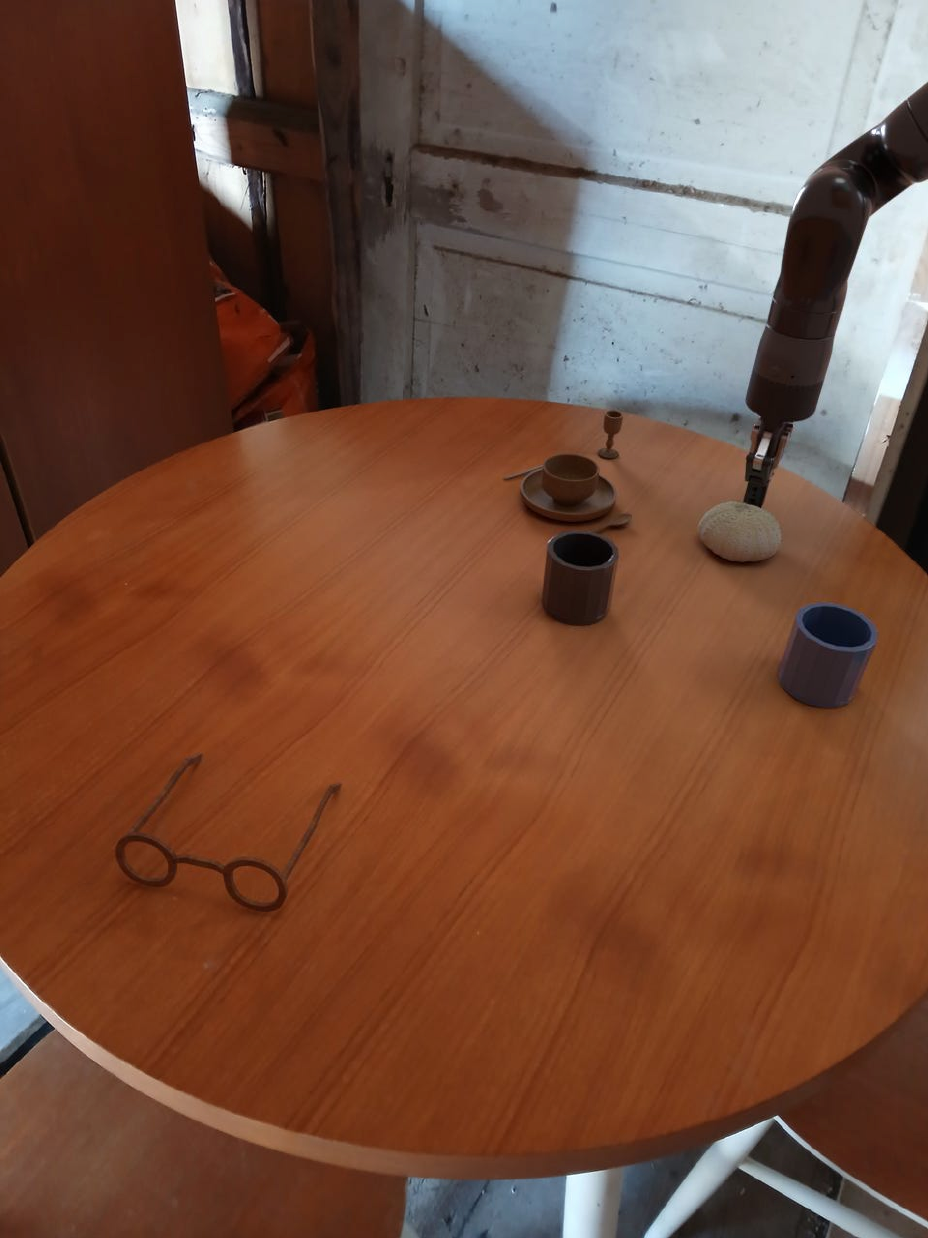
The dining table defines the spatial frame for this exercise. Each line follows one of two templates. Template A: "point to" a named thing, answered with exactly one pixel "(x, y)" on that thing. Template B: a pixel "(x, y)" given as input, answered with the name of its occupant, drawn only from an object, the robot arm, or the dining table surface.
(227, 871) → the glasses
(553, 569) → the charcoal cup
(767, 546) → the sea urchin shell
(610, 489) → the place setting
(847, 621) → the blue cup
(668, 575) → the dining table surface
